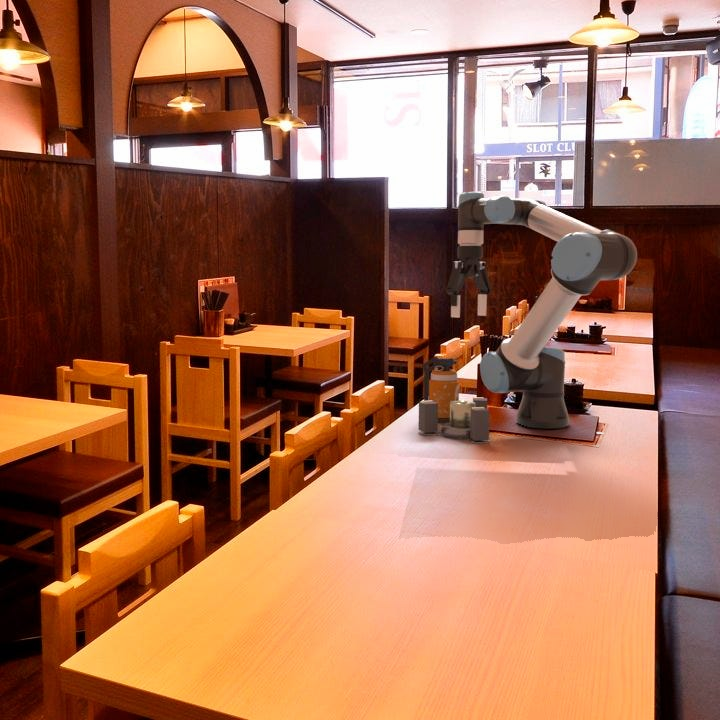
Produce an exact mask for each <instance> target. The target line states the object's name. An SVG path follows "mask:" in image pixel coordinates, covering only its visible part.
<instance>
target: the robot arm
mask: <svg viewBox="0 0 720 720" xmlns="http://www.w3.org/2000/svg"><path fill="white" fill-rule="evenodd" d="M457 212H458V214H457V231H458V232H457V244H458V246H457V259H460V260H459V261H456V260H455V261H453V263H452V270H451V273H450V276H449V279H448V282H447V286H446V289H445V292H446V294H447V295H449V296H450V317H451V318H458V319H459V318H460V317H461V294H460V292H461V290H462V288H463V285H464V284H465V282H466V281H467V279H468V278H471V279H472V280H473V282H474V283H475V286H476V288H477V290H478V292H479V294H477V317H478V316H481V317H482V316H483V317H486V316H487V304H488V295H490V294H491V293H492V291H493V289H492V284H491V281H490V277H489V273H488V269H487V262H486V261H480V260H481V259H483V257H484V247H483V244H484V225H491V224H497V225H514V226H515V225H518V226H525V227H526V228H528V229H530V230H533V231H535V232H537V233H539V234H541V235H543V236H545V237H548V238H550V239H551V240H553V241H555V242H556V243H555V246H554V248H553V250H552V252H551V257H552V259H551V260H550V263H551V264H550V267H551V269H550V273H551V277H552V278H551V279H550V281H549V282H548V283H547V284H546V286H545V288H544V290H543V291H542V292H541V294H540V295H539V297H538V298H537V300H536V301H535V303H534V304H533V306H532V307H531V308H530V310H529V312H528V313H527V315H526V317H524V319H523V321H522V323H521V324H520V325H519V327H518V328H517V330H516V331H515V333H514V334H513V335H512V336H511V337H508V338H505V339H504V340H502V342H501V343H500V345H499V346H498V348H497V350H496V351H494V350H492V351H489V352H488V351H487V352H486V353H485V354H483V356H482V358H481V360H480V365H479V370H480V376H481V380H482V382H483V385H484V386H485V388H487V390H488V391H490V392H492V393H496V394H506V393H514V392H522V398H521V400H520V401H521V402H520V404H519V407H518V410H517V412H516V415H515V416H516V417H515V422H516V421H517V422H518V423H520V424H521V425H520V426H522V425H524V426H523V427H526V426H527V428H532V429H533V428H535V429H562V428H566V426H567V427H568V426H570V416H569V413H568V409H567V406H566V402H565V399H564V395H565V394H564V393H565V390H564V389H565V372H566V370H565V369H566V366H565V365H566V361H565V358H566V357H565V355H566V354H565V351H564V350H563V348H561V347H553V346H547V344H548V342H549V341H550V340H551V338H552V337H553V336H554V334H555V333H556V331H557V330H558V328H559V327H560V326H561V325H562V323H563V322H564V320H565V319H566V317H567V316H568V315H569V313H570V312H571V311H572V309H573V308H574V307H575V305H576V304H577V302H579V300H580V298H581V297H582V296H583V297H584V296H588V295H590V294H591V293H592V292H593V290H594V289H595V288H596V287H597V285H598V284H599V282H600V281H615V280H620V279H622V278H624V277H626V276H627V275H629V274H630V273H631V272H632V271H633V269H634V268H635V266H636V265H637V260H638V250H637V247H636V245H635V244H634V242H633V241H632V239H631V238H629V237H628V236H626V235H623V234H621V233H618V232H616V231H614V230H611V229H604V230H601V229H599V228H597V227H594V226H592V225H590V224H587V223H585V222H582V221H581V220H578V219H576V218H574V217H571V216H569V215H566V214H565V213H563V212H560V211H558V210H555V209H553V208H551V207H549V206H548V205H547V204H546V202H544V201H543V200H540V199H536V198H516V197H509V196H507V195H494V196H488V197H485V194H484V193H483V192H480V191H468V192H467V191H466V192H462V193H460V194H459V196H458V205H457Z"/></svg>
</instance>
